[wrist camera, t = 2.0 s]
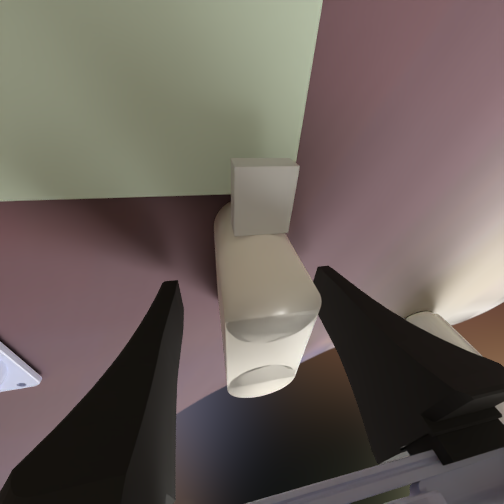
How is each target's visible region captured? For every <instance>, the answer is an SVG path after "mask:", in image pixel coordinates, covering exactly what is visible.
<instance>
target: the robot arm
mask: <svg viewBox="0 0 504 504" xmlns="http://www.w3.org/2000/svg"><path fill="white" fill-rule="evenodd" d="M313 283H314V285H315V286H316V288H317V290H318V292H319V293H320V296H321V301H322V302H321V308H320V311H319V313H318V315H319V317H320V319H321V321H322V323H323V325H324V327H325V329H326V331H327V332H328V334H329V336H330V338H331V340H332V342H333V344H334V346H335V348H336V350H337V352H338V354H339V356H340V359H341V361H342V364H343V366H344V369H345V371H346V374H347V376H348V379H349V382H350V384H351V387H352V390H353V393H354V395H355V398H356V401H357V404H358V407H359V410H360V413H361V416H362V419H363V423H364V426H365V429H366V432H367V436H368V439H369V443H370V446H371V450H372V452H373V455H374V457H375V459H376V461H377V463H378V464H381V465H377V466H374V467H370V468H367V469H364V470H360V471H357V472H353V473H350V474H346V475H343V476H339V477H336V478H333V479H329V480H326V481H322V482H319V483H315V484H312V485H308V486H305V487H301V488H298V489H294V490H291V491H288V492H284V493H281V494H277V495H274V496H270V497H267V498H263V499H260V500H257V501H253V502H250V503H246V504H349V503H352V502H355V501H358V500H361V499H365V498H368V497H371V496H374V495H377V494H380V493H383V492H386V491H390V490H393V489H396V488H399V487H402V486H406V485H408V484H411V485H410V495H409V496H408V497H404V498H401V499H397V500H394V501H391V502H387V503H384V504H504V424H503V423H502V422H501V421H500V420H499V419H498V418H501V417H502V414H501V413H500V412H499V410H498V409H497V408H496V407H495V406H496V405H498V404H500V403H502V402H504V367H503V366H502V365H501V364H499V363H497V362H494V361H492V360H490V359H487V358H485V357H482V356H480V355H477V354H475V353H472V352H470V351H467V350H465V349H463V348H460V347H458V346H456V345H454V344H452V343H449V342H447V341H445V340H443V339H441V338H439V337H437V336H435V335H433V334H431V333H429V332H427V331H425V330H423V329H421V328H419V327H417V326H416V325H414V324H412V323H410V322H408V321H407V320H405V319H403V318H402V317H400V316H398V315H397V314H395V313H393V312H392V311H390V310H388V309H387V308H385V307H384V306H382V305H381V304H379V303H378V302H376V301H375V300H374V299H372V298H371V297H369V296H368V295H367V294H365V293H364V292H362V291H361V290H360V289H358V288H357V287H356V286H354V285H353V284H352V283H351V282H349V281H348V280H347V279H345V278H344V277H343V276H341V275H340V274H339V273H338V272H336V271H335V270H334V269H332V268H331V267H329V266H321V267H318V268H317V271H316V275H315V278H314V281H313ZM183 321H184V307H183V303H182V298H181V293H180V289H179V284H178V280H175V281H165V282H163V283H162V285H161V287H160V289H159V292H158V294H157V296H156V298H155V299H154V301H153V303H152V305H151V307H150V309H149V310H148V312H147V314H146V315H145V317H144V319H143V320H142V322H141V324H140V325H139V327H138V328H137V330H136V331H135V333H134V334H133V336H132V337H131V339H130V340H129V342H128V343H127V345H126V346H125V347H124V349H123V350H122V352H121V353H120V354H119V356H118V357H117V358H116V360H115V361H114V362H113V363H112V365H111V366H110V367H109V368H108V370H107V371H106V372H105V373H104V374H103V376H102V377H101V378H100V379H99V381H98V382H97V383H96V384H95V385H94V386H93V388H92V389H91V390H90V391H89V392H88V393H87V394H86V395H85V397H84V398H83V399H82V400H81V401H80V402H79V403H78V404H77V405H76V406H75V407H74V408H73V410H72V411H71V412H70V413H69V414H68V415H67V416H66V417H65V418H64V419H63V420H62V421H61V422H60V423H59V424H58V425H57V426H56V428H55V429H54V430H53V431H52V432H51V433H50V434H48V435H47V436H46V437H45V438H44V439H43V440H42V441H41V442H40V443H39V444H38V445H37V446H36V447H35V448H34V449H33V450H32V451H31V452H30V453H29V454H28V455H27V456H26V457H25V458H24V459H23V460H22V461H21V462H20V463H19V464H18V465H17V466H16V467H15V468H14V469H13V470H12V472H11V473H10V475H9V477H8V479H7V481H6V482H5V484H4V486H3V488H2V489H1V491H0V504H173V503H174V502H175V449H176V448H175V447H176V446H175V445H176V441H175V440H176V398H177V378H178V368H179V360H180V352H181V344H182V336H183ZM41 380H42V377H41V376H40V375H39V374H38V373H37V372H36V371H34V370H33V369H32V368H31V367H30V366H29V365H27V364H26V363H25V362H24V361H23V360H22V359H20V358H19V357H18V356H17V355H16V354H14V353H13V352H12V351H11V350H10V349H9V348H7V347H6V346H5V345H4V344H3V343H2V342H0V392H2V391H8V390H14V389H20V388H26V387H33V386H37V385H38V384H40V382H41ZM406 456H409V457H406ZM403 457H405V458H403ZM399 458H402V459H399ZM396 459H398V460H396ZM392 460H395V461H392ZM389 461H392V462H389ZM385 462H388V463H385ZM382 463H384V464H382Z"/></svg>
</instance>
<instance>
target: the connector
mask: <svg viewBox="0 0 504 504" xmlns="http://www.w3.org/2000/svg"><path fill="white" fill-rule="evenodd" d="M299 168H300V166H299V165H298V164H297V163H295V162H294V161H293V160H292V159H291V158H231V201H230V202H229V203H227V204H226V205H224V206H223V207H222V208H221V209H220V210H219V212H218V213H217V215H216V217H215V220H214V241H215V257H216V273H217V290H218V301H219V311H220V321H221V331H222V340H223V350H224V360H225V370H226V379H227V389H228V392H229V393H230V394H231V395H233V396H236V397H242V398H249V397H258V396H262V395H266V394H269V393H272V392H275V391H277V390H279V389H281V388H283V387H285V386H286V385H288V384H289V383H290V382H291V381H292V380H293V379H294V377H295V374H296V372H297V369H298V366H299V364H300V361H301V359H302V356H303V353H304V351H305V348H306V345H307V343H308V340H309V337H310V335H311V332H312V329H313V327H314V324H315V321H316V319H317V316H318V313H319V311H320V308H321V302H322V301H321V296H320V293H319V292H318V290H317V288H316V286H315V285H314V283H313V281H312V279H311V278H310V276H309V274H308V272H307V271H306V269H305V267H304V266H303V264H302V262H301V260H300V259H299V257H298V255H297V253H296V252H295V250H294V248H293V246H292V245H291V243H290V241H289V239H288V238H287V236H286V234H285V233H288V230H289V224H290V219H291V213H292V207H293V202H294V196H295V191H296V185H297V179H298V174H299Z"/></svg>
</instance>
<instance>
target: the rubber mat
mask: <svg viewBox="0 0 504 504" xmlns="http://www.w3.org/2000/svg"><path fill="white" fill-rule="evenodd" d="M322 2H323V0H0V201H26V200H58V199H91V198H124V197H156V196H189V195H222V194H231V158H291V159H292V160H293V161H294V162H295V163H296V159H297V153H298V147H299V141H300V135H301V129H302V123H303V117H304V111H305V105H306V98H307V92H308V86H309V80H310V74H311V68H312V62H313V56H314V50H315V44H316V38H317V32H318V26H319V20H320V14H321V8H322Z"/></svg>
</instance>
